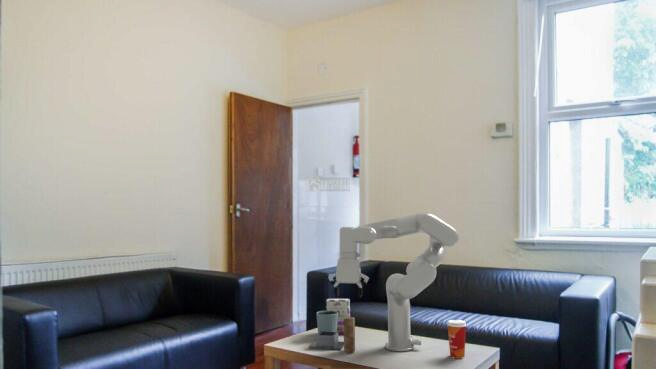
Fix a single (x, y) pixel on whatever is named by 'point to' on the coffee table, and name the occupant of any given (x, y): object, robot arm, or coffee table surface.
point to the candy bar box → (339, 311)
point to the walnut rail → (349, 334)
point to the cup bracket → (327, 341)
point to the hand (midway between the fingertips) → (348, 296)
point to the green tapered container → (327, 321)
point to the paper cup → (457, 338)
